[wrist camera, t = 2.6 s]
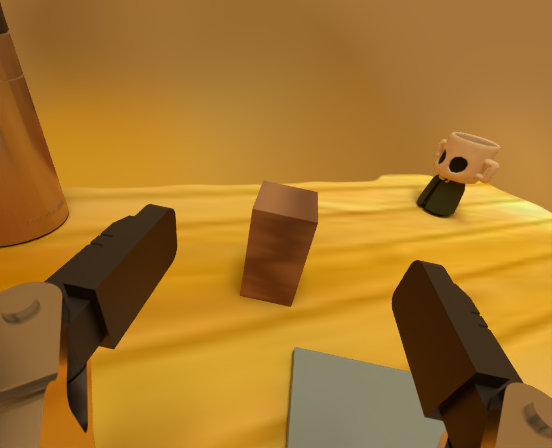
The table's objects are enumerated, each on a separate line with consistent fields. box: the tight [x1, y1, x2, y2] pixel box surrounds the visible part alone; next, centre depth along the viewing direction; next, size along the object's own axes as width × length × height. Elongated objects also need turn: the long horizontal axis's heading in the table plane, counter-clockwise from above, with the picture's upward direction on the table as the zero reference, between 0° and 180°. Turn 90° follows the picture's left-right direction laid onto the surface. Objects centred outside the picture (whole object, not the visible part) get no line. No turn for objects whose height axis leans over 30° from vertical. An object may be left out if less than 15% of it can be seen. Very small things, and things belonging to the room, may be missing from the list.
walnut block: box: [240, 181, 318, 307], centre depth 25 cm, size 5×5×10 cm
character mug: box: [417, 132, 500, 215], centre depth 45 cm, size 11×7×13 cm, turn 18°
